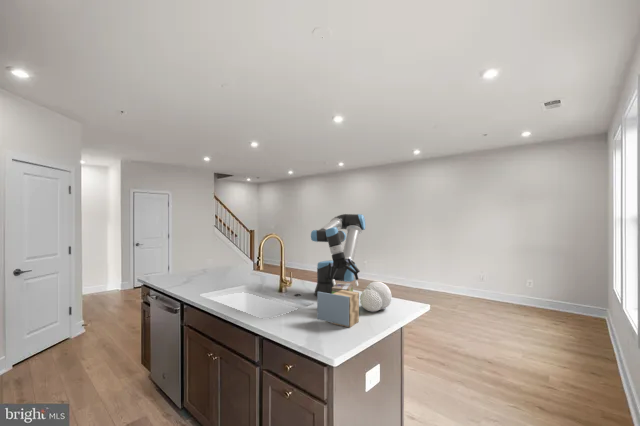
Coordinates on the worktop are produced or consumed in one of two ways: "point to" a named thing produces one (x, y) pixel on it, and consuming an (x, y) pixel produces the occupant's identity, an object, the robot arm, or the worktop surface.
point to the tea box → (342, 287)
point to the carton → (351, 306)
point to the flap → (333, 308)
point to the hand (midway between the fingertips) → (346, 288)
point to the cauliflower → (375, 297)
